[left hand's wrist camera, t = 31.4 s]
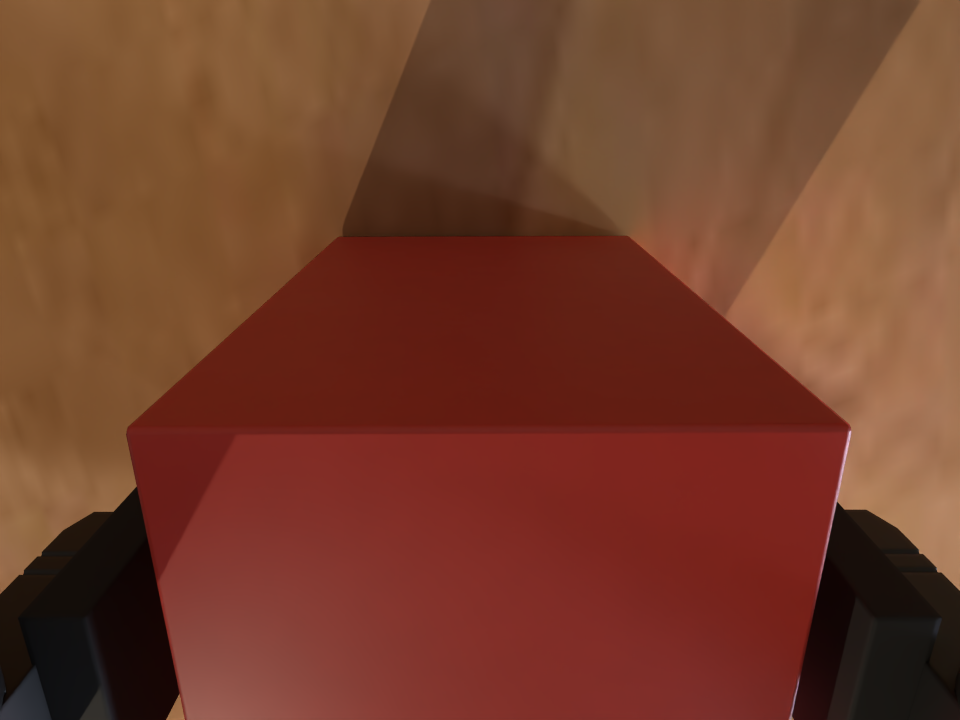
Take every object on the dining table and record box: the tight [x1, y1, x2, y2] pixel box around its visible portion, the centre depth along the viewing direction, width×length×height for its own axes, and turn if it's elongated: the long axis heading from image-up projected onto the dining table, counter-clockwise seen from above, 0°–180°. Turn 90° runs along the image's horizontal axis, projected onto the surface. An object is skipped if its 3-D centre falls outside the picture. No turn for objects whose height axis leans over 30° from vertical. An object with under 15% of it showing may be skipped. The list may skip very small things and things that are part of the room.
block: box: [126, 236, 851, 720], centre depth 13 cm, size 8×7×11 cm
